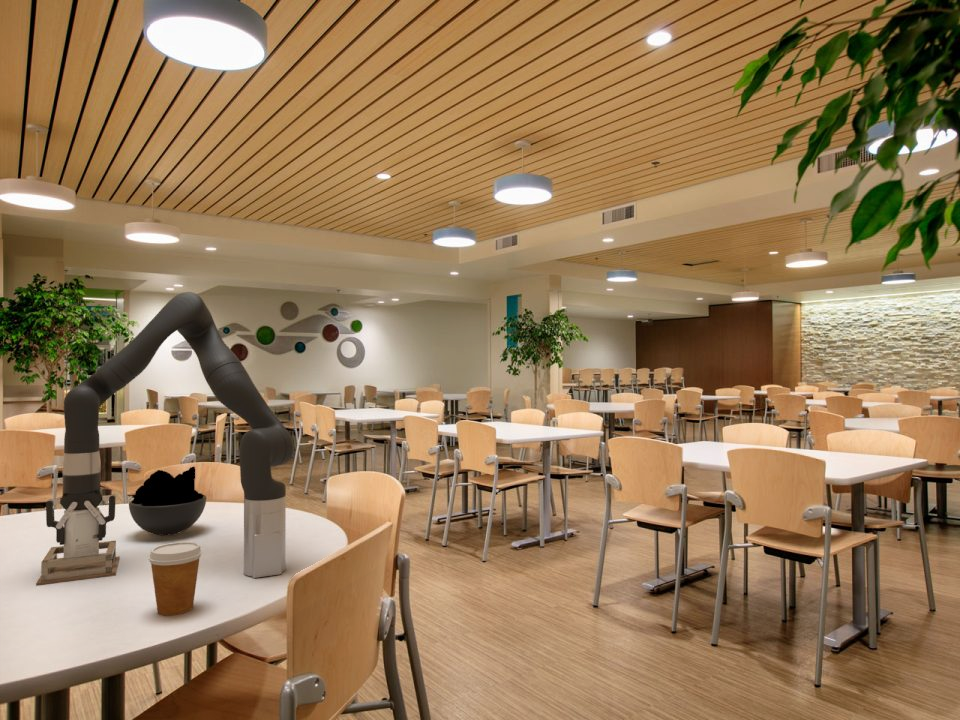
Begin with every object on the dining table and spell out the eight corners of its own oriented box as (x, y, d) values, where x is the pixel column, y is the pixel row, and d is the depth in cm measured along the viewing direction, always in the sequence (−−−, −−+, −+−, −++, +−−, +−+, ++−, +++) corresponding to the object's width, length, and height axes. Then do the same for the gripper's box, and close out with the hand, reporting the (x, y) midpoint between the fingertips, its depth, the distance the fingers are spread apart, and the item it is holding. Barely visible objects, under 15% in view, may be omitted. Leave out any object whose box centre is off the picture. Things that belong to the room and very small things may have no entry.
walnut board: (115, 575, 145) (115, 573, 145) (36, 585, 138) (36, 583, 138) (119, 558, 158) (119, 556, 158) (47, 566, 151) (47, 564, 151)
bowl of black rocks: (121, 546, 169) (121, 475, 169) (136, 529, 188) (136, 465, 188) (202, 540, 175) (202, 471, 175) (209, 523, 194) (209, 462, 194)
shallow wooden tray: (111, 572, 145) (111, 554, 145) (41, 581, 139) (41, 562, 139) (115, 557, 157) (115, 540, 157) (51, 564, 151) (51, 547, 151)
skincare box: (73, 565, 144) (73, 512, 145) (62, 562, 147) (62, 510, 147) (100, 558, 150) (100, 507, 150) (89, 556, 152) (89, 505, 152)
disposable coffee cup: (209, 600, 128) (209, 541, 129) (189, 618, 119) (190, 554, 119) (162, 601, 128) (162, 541, 128) (138, 619, 119) (138, 555, 119)
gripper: (118, 467, 155) (117, 534, 155) (47, 471, 149) (47, 542, 148) (115, 471, 148) (115, 542, 148) (42, 476, 142) (41, 550, 142)
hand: (81, 541), depth 148 cm, fingers closed on skincare box, 7 cm apart
